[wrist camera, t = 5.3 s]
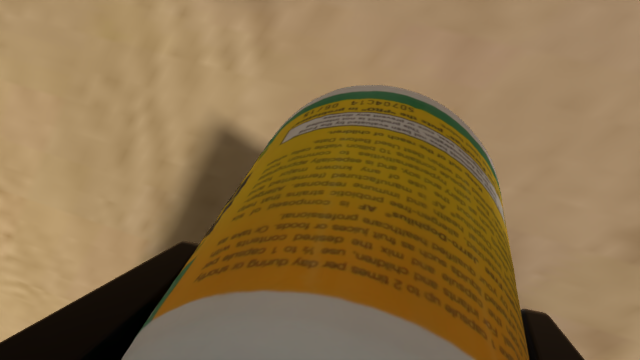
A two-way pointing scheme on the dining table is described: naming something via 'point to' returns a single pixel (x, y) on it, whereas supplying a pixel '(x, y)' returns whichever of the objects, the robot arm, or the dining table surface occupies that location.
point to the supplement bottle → (352, 246)
